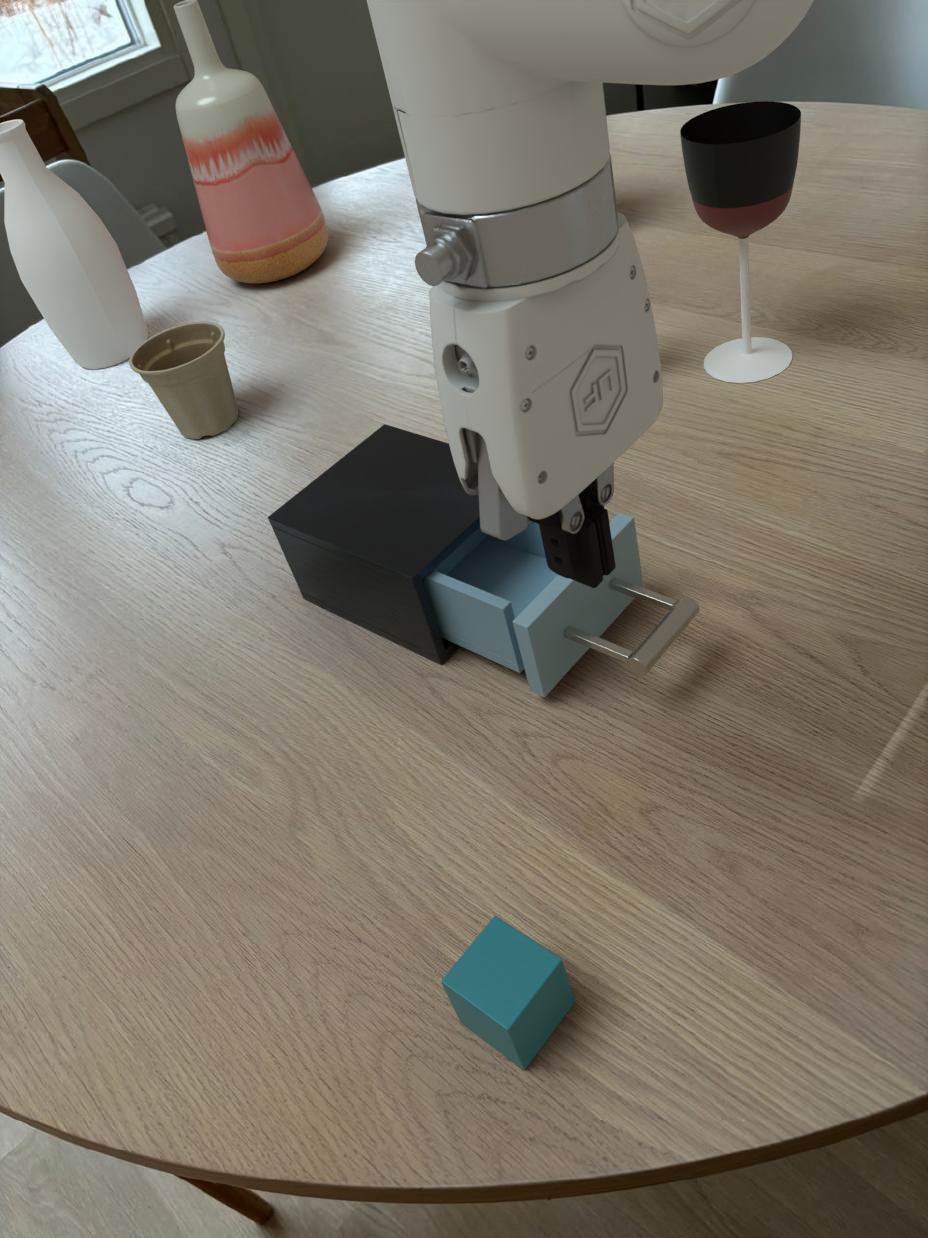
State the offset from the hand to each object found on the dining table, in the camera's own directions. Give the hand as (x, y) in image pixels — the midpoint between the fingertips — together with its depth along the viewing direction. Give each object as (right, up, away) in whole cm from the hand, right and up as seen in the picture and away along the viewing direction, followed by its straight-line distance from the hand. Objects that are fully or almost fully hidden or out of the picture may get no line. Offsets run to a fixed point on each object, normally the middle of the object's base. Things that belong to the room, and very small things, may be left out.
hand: (581, 570), depth 52 cm
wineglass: (+19, +20, +37) cm, 46 cm away
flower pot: (-31, +17, +50) cm, 62 cm away
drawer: (0, -3, +17) cm, 17 cm away
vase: (-29, +42, +75) cm, 91 cm away
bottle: (-47, +29, +68) cm, 88 cm away
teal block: (-3, -22, -1) cm, 22 cm away
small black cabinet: (-9, +1, +25) cm, 27 cm away
